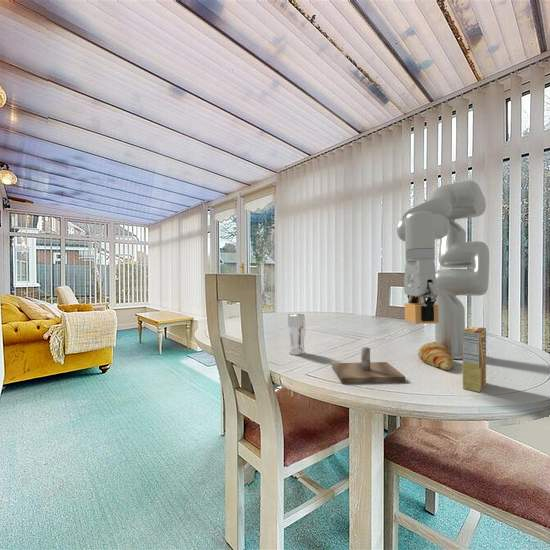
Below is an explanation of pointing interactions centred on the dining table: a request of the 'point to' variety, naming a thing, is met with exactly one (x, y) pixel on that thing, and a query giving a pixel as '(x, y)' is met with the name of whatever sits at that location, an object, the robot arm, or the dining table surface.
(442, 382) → the dining table surface
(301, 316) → the beer glass
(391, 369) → the post board
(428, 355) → the croissant
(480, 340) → the candy box
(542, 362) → the dining table surface
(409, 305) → the collar
